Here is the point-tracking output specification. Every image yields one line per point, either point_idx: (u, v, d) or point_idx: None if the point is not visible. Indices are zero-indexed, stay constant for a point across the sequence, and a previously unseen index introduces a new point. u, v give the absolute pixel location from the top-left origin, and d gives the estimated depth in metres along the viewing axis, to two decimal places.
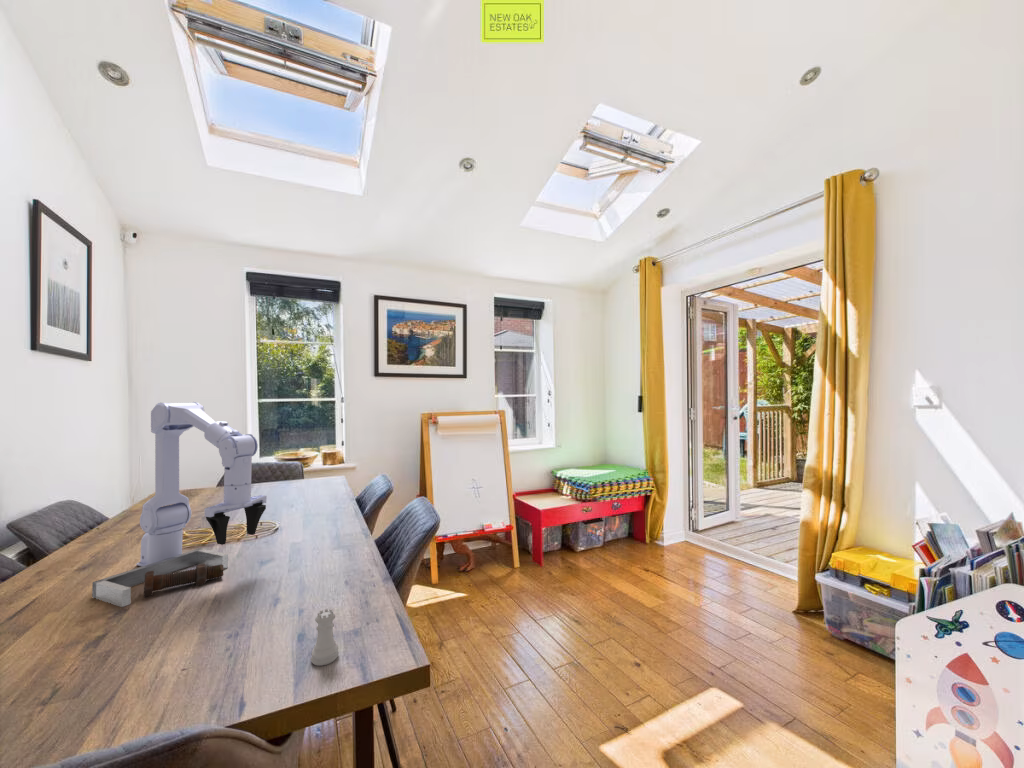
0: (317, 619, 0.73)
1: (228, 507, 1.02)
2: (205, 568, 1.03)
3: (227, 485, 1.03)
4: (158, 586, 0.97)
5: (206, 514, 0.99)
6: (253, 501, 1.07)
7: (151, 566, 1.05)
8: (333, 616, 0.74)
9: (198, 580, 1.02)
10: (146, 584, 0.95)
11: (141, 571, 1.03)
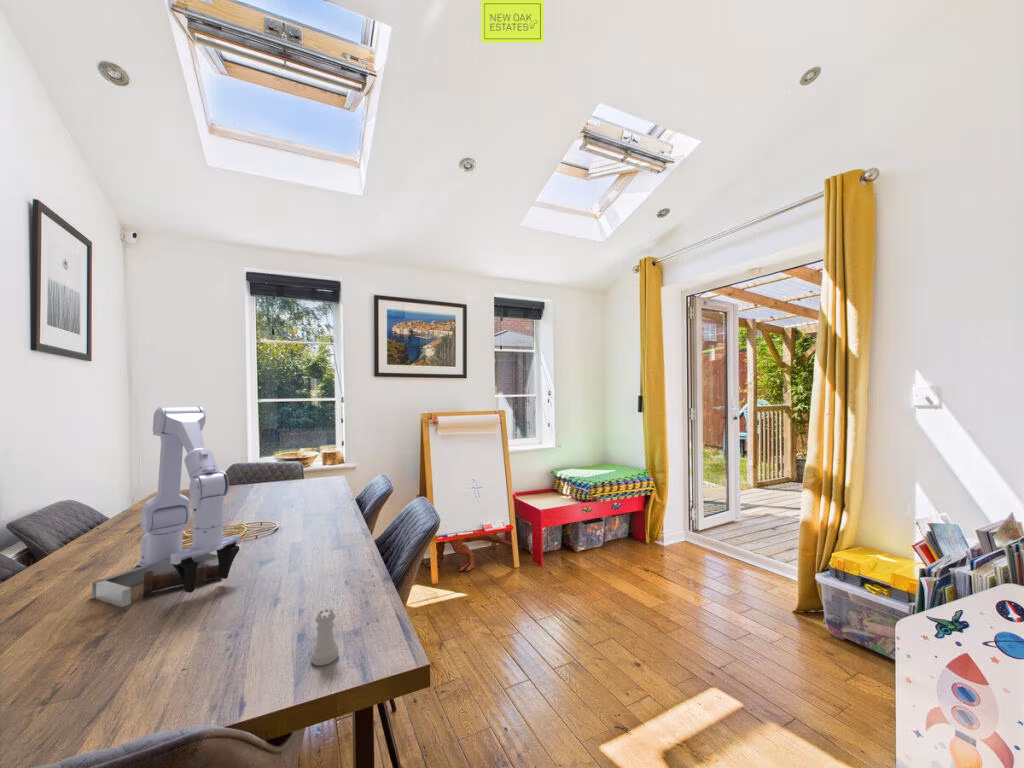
0: (317, 619, 0.73)
1: (196, 552, 0.95)
2: (204, 568, 1.03)
3: (196, 528, 0.96)
4: (158, 586, 0.97)
5: (172, 561, 0.92)
6: (225, 543, 1.00)
7: (151, 566, 1.05)
8: (333, 616, 0.74)
9: (197, 580, 1.02)
10: (145, 584, 0.95)
11: (141, 571, 1.03)
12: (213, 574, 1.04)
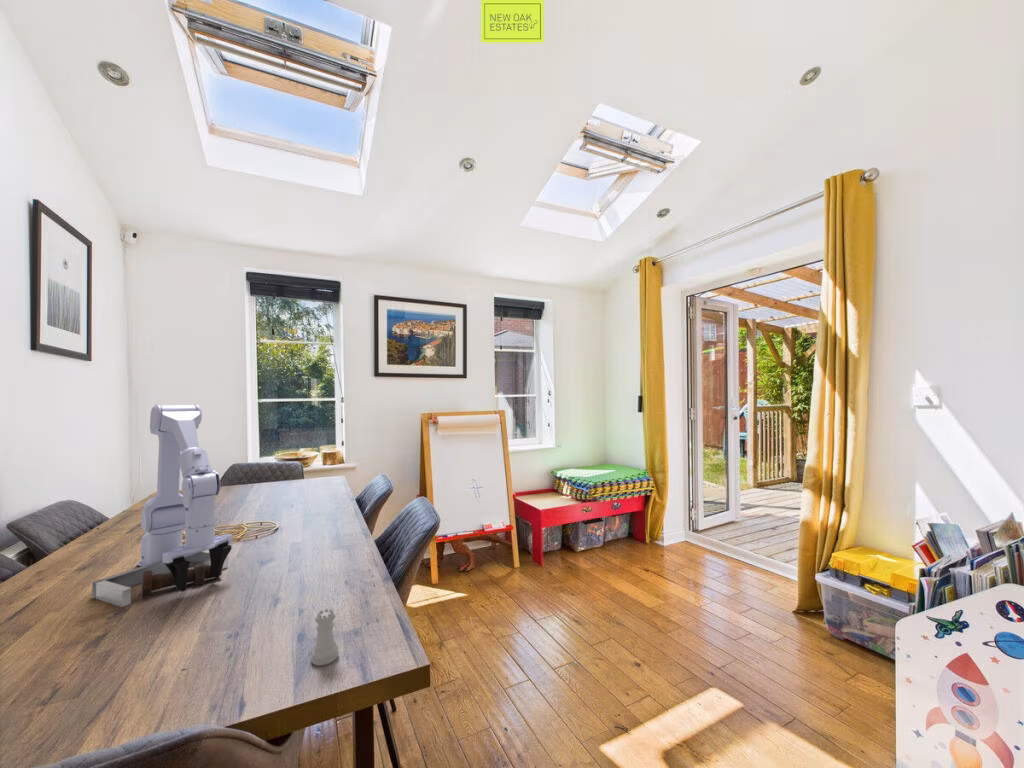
0: (317, 619, 0.73)
1: (188, 551, 0.96)
2: (203, 567, 1.03)
3: (188, 527, 0.97)
4: (157, 585, 0.97)
5: (164, 560, 0.93)
6: (217, 542, 1.01)
7: (151, 566, 1.05)
8: (333, 616, 0.74)
9: (197, 579, 1.02)
10: (144, 584, 0.95)
11: (141, 571, 1.03)
12: None
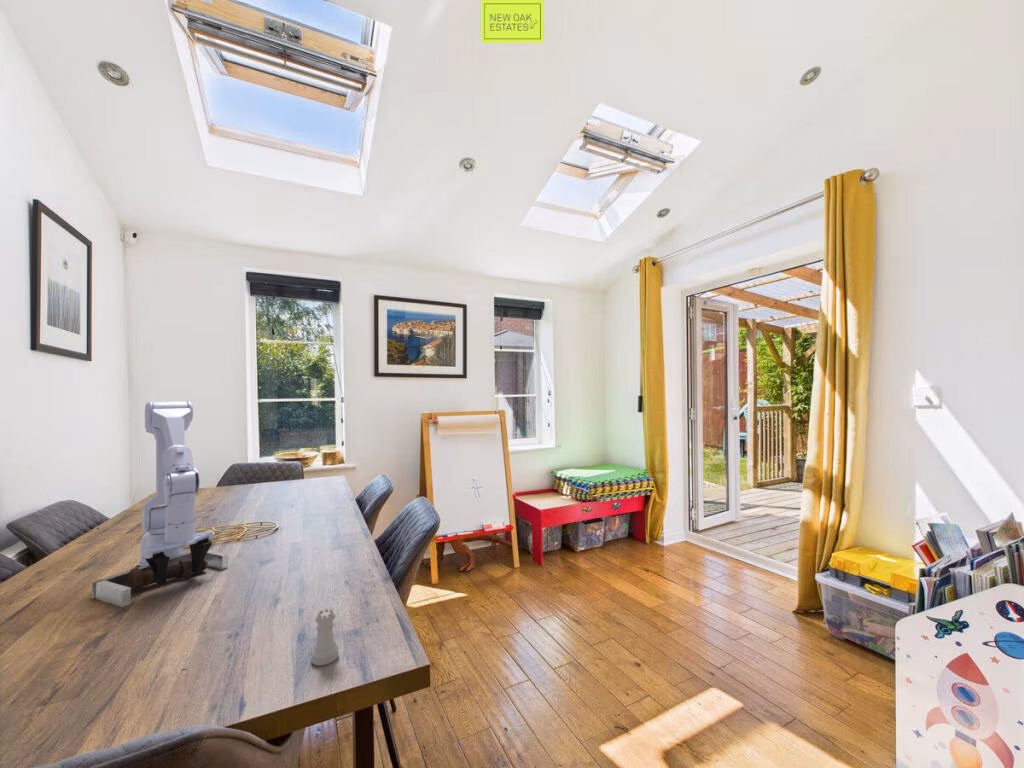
0: (317, 619, 0.73)
1: (168, 547, 0.99)
2: (190, 562, 1.07)
3: (168, 524, 1.00)
4: (147, 581, 1.00)
5: (143, 555, 0.96)
6: (197, 539, 1.04)
7: None
8: (333, 616, 0.74)
9: (185, 573, 1.05)
10: (136, 580, 0.97)
11: None
12: None
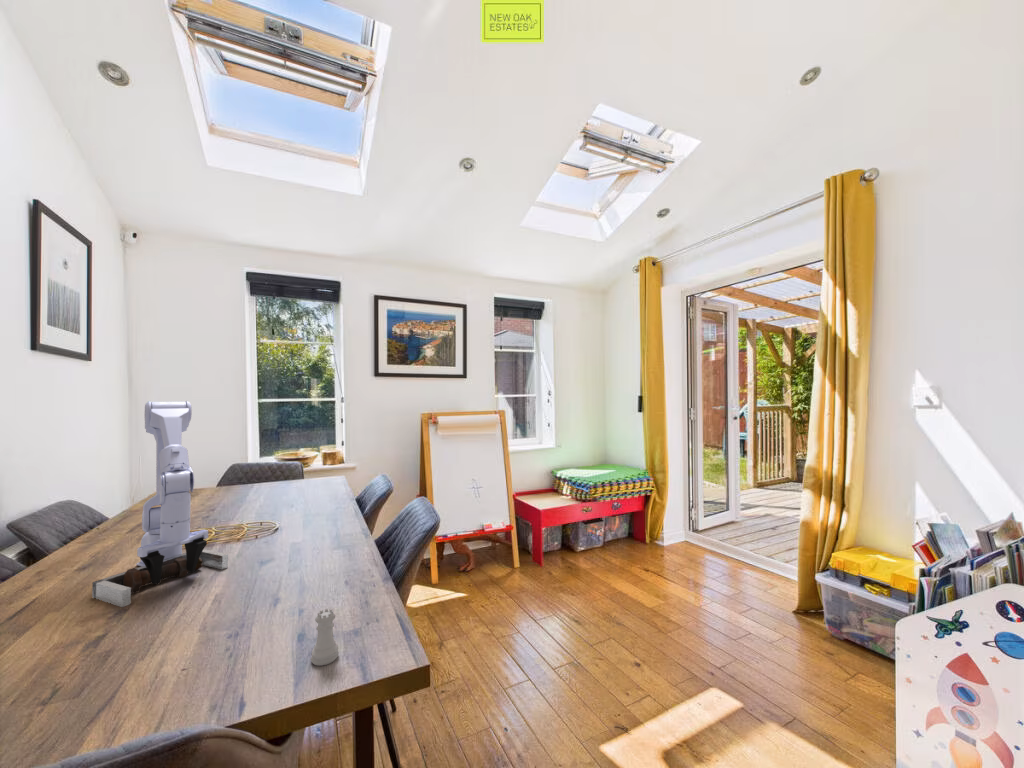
0: (317, 619, 0.73)
1: (163, 546, 0.99)
2: (186, 560, 1.08)
3: (163, 523, 1.01)
4: (145, 581, 1.00)
5: (138, 554, 0.97)
6: (192, 538, 1.05)
7: None
8: (333, 616, 0.74)
9: (181, 572, 1.06)
10: (134, 580, 0.98)
11: None
12: None
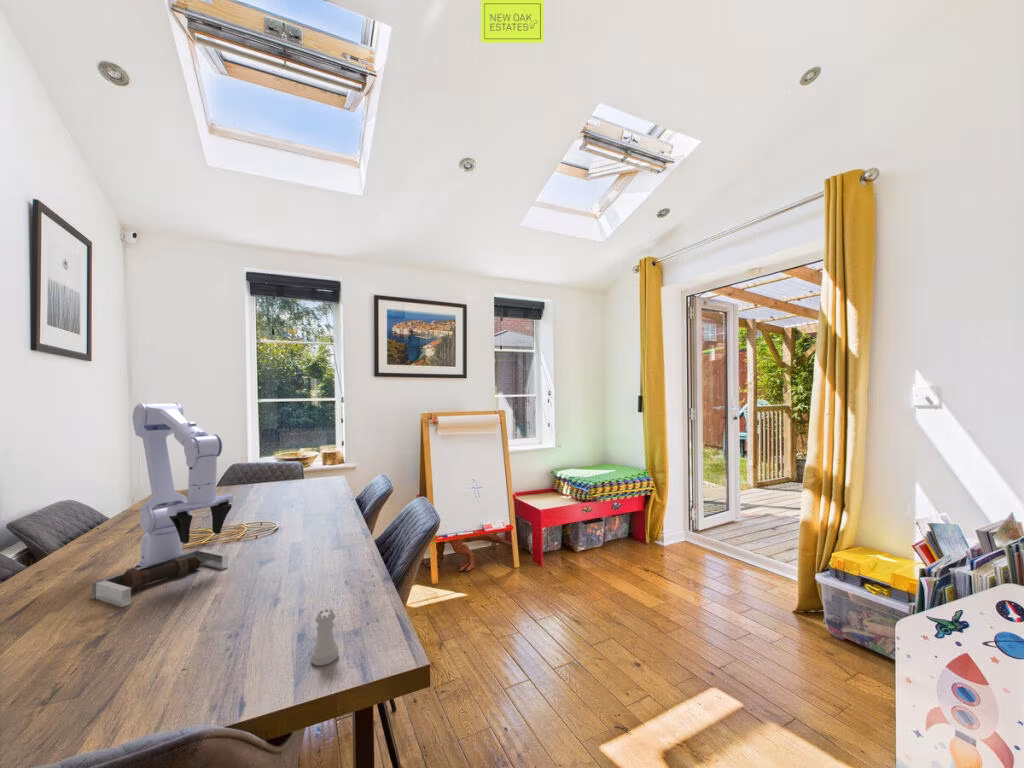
0: (317, 619, 0.73)
1: (191, 506, 1.03)
2: (185, 560, 1.08)
3: (191, 485, 1.05)
4: (144, 580, 1.00)
5: (168, 513, 1.01)
6: (218, 500, 1.09)
7: (151, 566, 1.05)
8: (333, 616, 0.74)
9: (181, 572, 1.06)
10: (134, 580, 0.98)
11: None
12: (193, 565, 1.09)
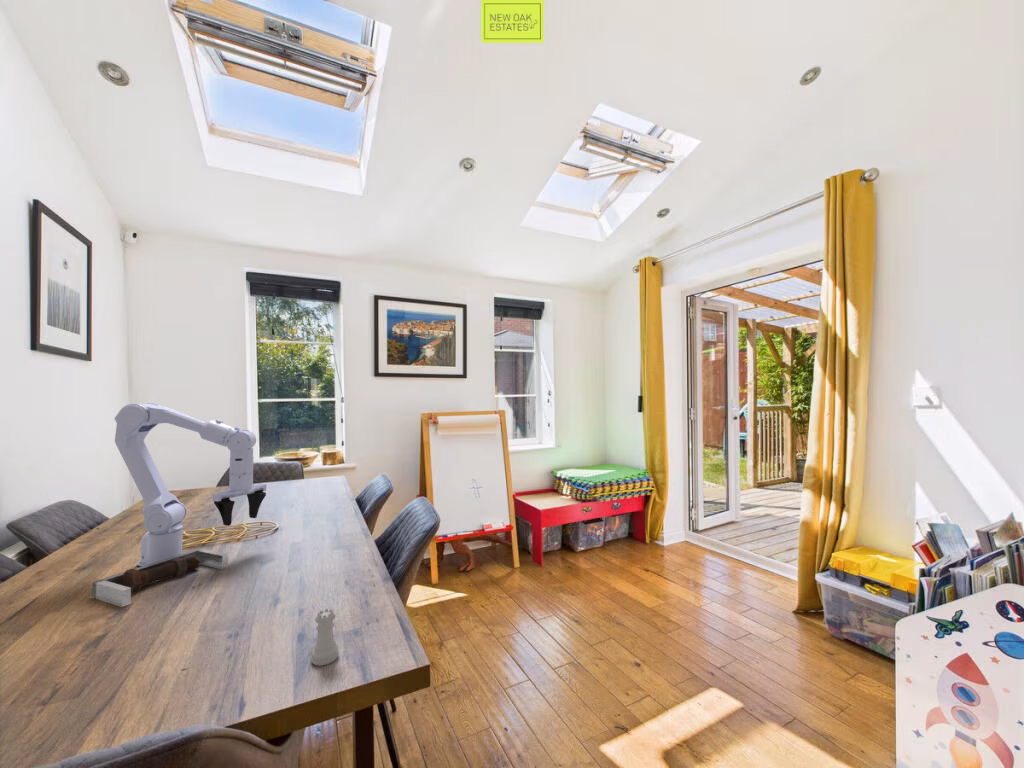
0: (317, 619, 0.73)
1: (233, 493, 1.17)
2: (184, 560, 1.08)
3: (232, 474, 1.18)
4: (144, 581, 1.00)
5: (214, 499, 1.14)
6: (255, 488, 1.23)
7: (151, 566, 1.05)
8: (333, 616, 0.74)
9: (180, 572, 1.06)
10: (134, 580, 0.98)
11: None
12: (192, 565, 1.10)
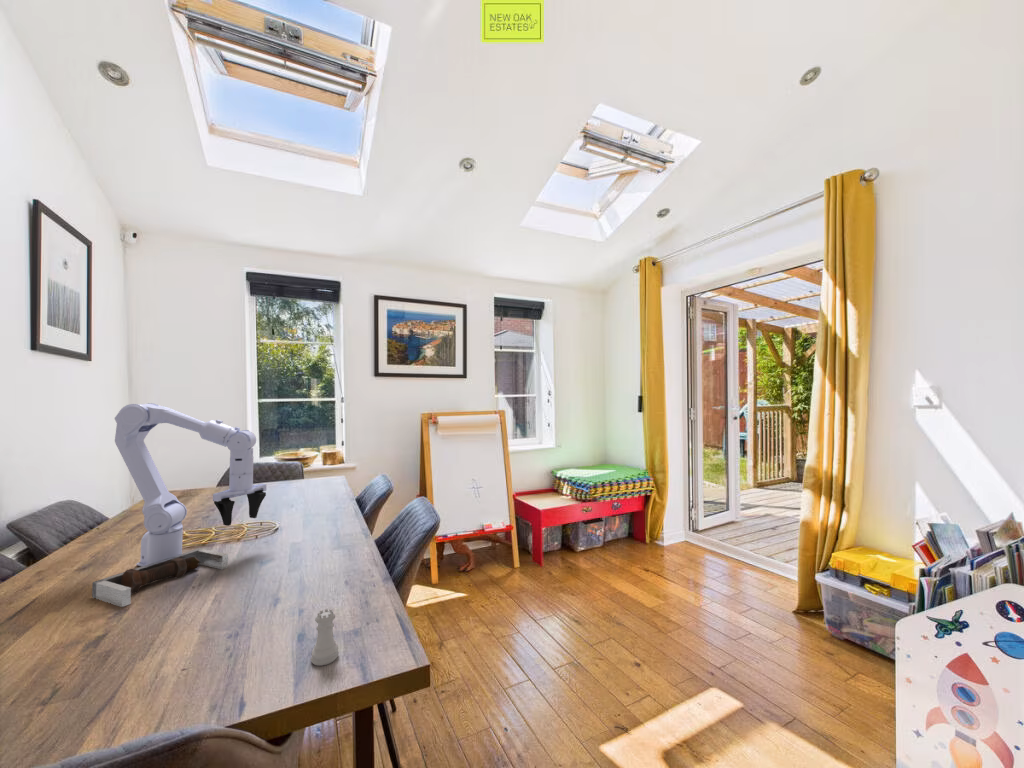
0: (317, 619, 0.73)
1: (233, 493, 1.17)
2: (184, 560, 1.08)
3: (232, 474, 1.18)
4: (144, 581, 1.00)
5: (214, 499, 1.14)
6: (255, 488, 1.23)
7: (151, 566, 1.05)
8: (333, 616, 0.74)
9: (179, 572, 1.06)
10: (134, 580, 0.98)
11: None
12: (192, 565, 1.10)
